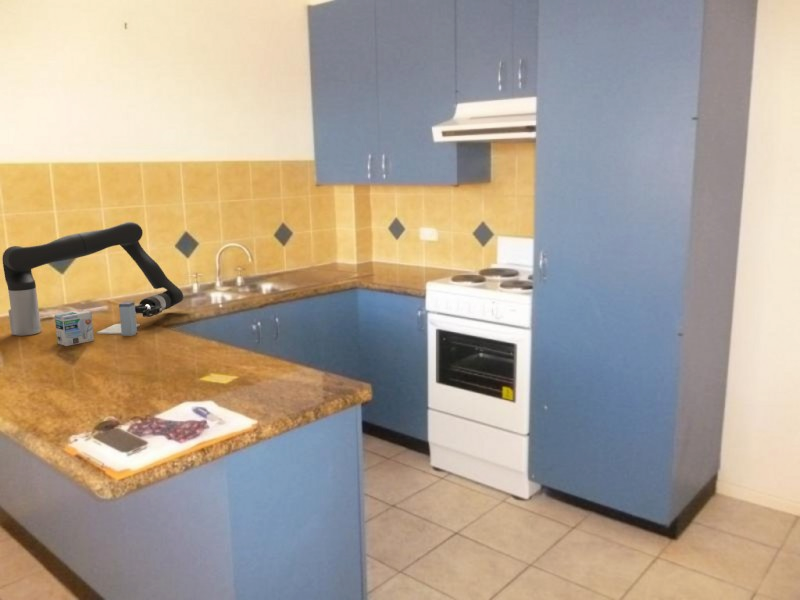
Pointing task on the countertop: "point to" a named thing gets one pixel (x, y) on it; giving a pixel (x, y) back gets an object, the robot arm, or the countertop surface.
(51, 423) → the countertop surface
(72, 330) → the light bulb box
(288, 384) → the countertop surface
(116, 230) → the robot arm
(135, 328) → the blue post
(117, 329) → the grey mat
